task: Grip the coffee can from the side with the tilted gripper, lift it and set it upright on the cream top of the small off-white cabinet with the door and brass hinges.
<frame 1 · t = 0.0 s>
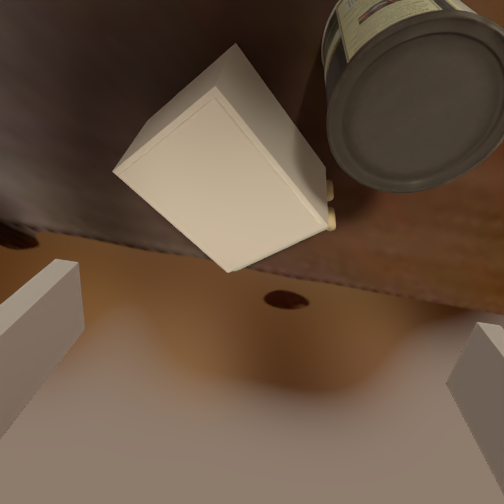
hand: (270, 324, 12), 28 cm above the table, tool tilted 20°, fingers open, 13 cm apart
coffee can: (384, 42, 31), on the table
cabinet: (238, 144, 39), on the table
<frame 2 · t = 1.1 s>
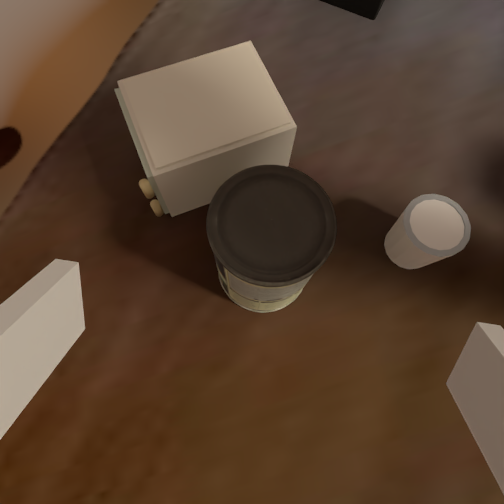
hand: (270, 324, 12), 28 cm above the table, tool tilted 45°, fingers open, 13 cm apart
coffee can: (262, 269, 42), on the table
cabinet: (212, 156, 47), on the table
shot glass: (407, 247, 44), on the table
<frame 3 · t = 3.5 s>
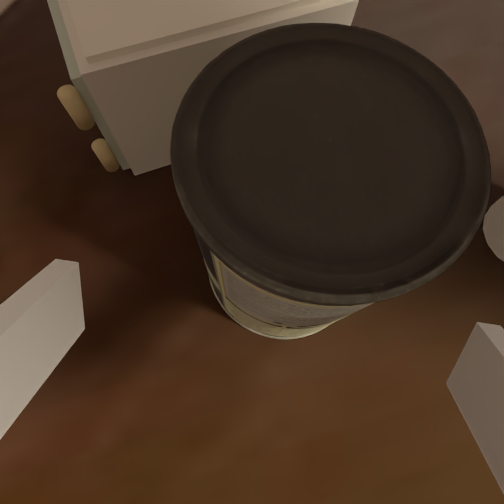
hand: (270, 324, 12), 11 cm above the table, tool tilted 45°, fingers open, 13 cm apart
coffee can: (282, 265, 25), on the table
cabinet: (205, 84, 29), on the table
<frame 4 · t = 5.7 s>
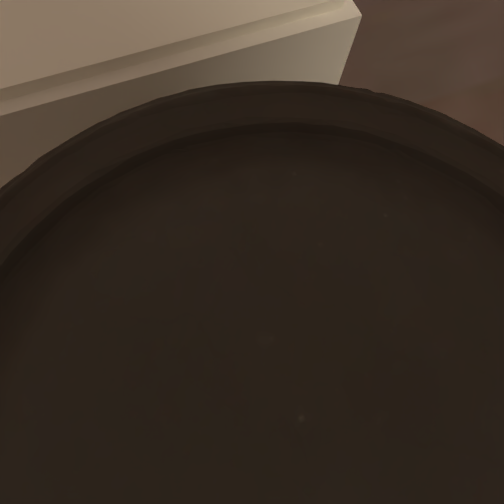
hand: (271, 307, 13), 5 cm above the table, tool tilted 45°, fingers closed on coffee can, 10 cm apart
coffee can: (252, 389, 18), on the table, touching gripper
cabinet: (153, 123, 22), on the table
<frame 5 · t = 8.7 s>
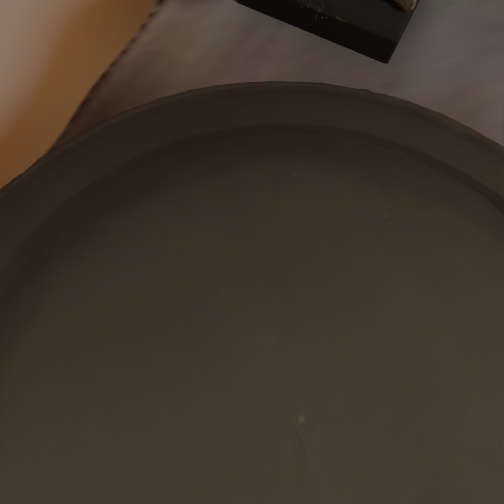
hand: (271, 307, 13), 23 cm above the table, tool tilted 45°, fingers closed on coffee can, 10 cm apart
coffee can: (252, 389, 18), point 17 cm above the table, touching gripper
coral: (331, 20, 49), on the table
when the fingers open (17 cm above the table, at t = 11.9 s): coffee can drops 1 cm, resting on cabinet.
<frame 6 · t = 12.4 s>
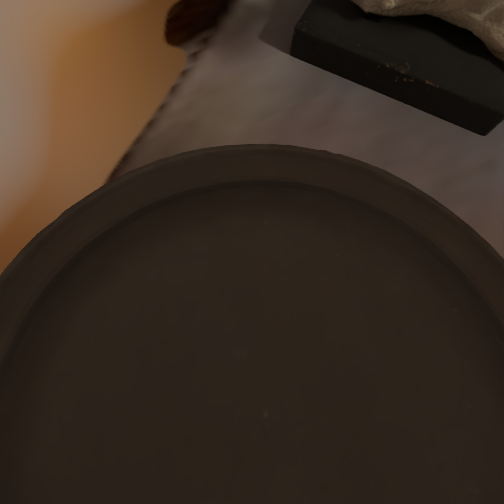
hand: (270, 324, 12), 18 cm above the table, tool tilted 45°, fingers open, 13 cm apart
coffee can: (247, 391, 19), point 10 cm above the table, touching cabinet
coral: (408, 77, 39), on the table
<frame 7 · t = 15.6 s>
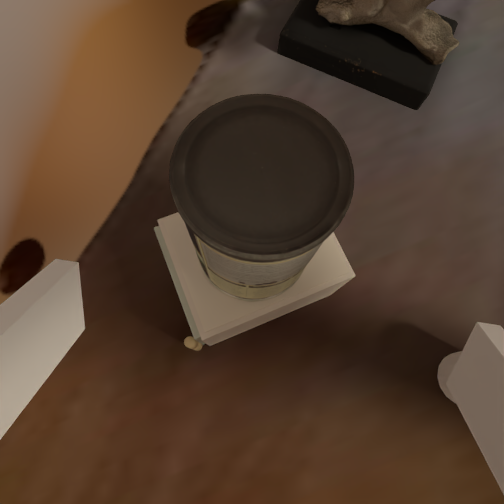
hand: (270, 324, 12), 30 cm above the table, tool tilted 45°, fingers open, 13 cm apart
coffee can: (252, 248, 34), point 10 cm above the table, touching cabinet
cabinet: (251, 272, 43), on the table
coral: (364, 68, 53), on the table
shot glass: (461, 378, 41), on the table
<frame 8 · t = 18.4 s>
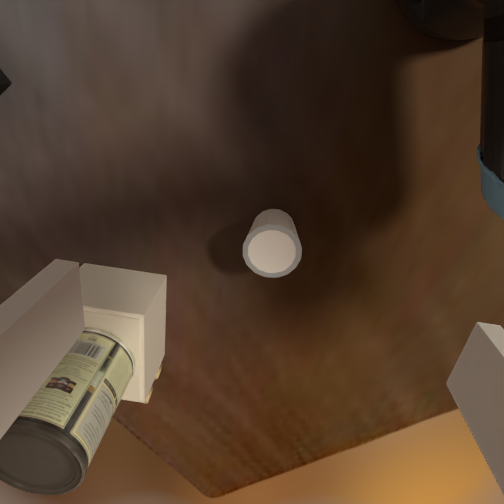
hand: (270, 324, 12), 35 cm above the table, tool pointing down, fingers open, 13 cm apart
coffee can: (98, 357, 48), point 10 cm above the table, touching cabinet
cabinet: (126, 311, 56), on the table
shot glass: (273, 228, 49), on the table
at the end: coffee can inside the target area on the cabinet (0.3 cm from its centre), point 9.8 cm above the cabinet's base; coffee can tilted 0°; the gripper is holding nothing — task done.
